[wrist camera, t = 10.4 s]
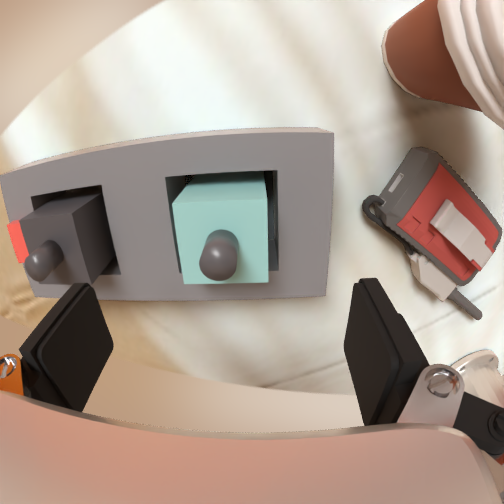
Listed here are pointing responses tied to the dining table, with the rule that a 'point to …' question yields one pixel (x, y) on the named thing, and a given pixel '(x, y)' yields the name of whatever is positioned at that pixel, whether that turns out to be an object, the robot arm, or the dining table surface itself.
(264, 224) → the plug
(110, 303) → the dining table surface
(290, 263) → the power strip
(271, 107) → the dining table surface
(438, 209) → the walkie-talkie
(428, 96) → the coffee cup
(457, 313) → the dining table surface
